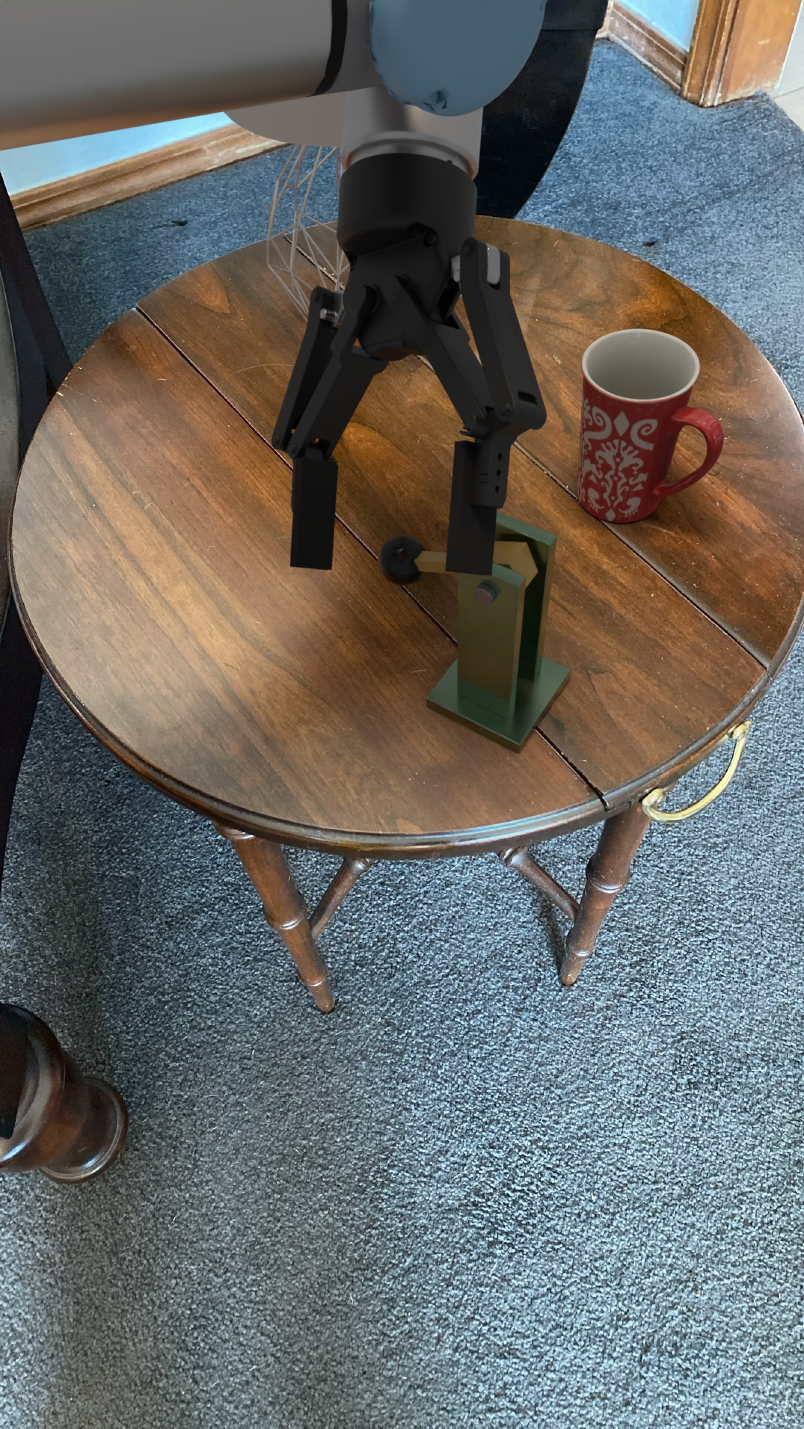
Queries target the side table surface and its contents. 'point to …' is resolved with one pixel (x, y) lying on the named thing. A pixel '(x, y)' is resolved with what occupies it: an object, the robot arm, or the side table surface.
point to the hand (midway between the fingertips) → (382, 571)
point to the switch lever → (443, 559)
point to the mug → (637, 422)
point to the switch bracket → (503, 646)
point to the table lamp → (302, 126)
